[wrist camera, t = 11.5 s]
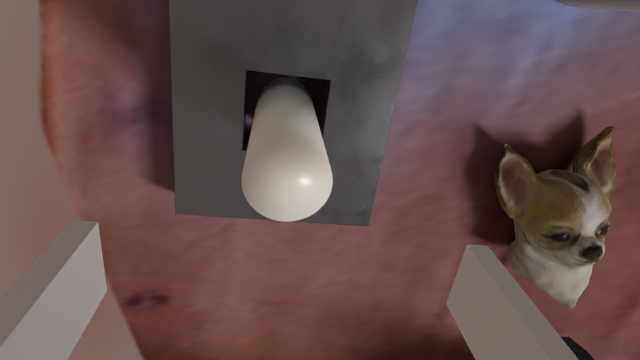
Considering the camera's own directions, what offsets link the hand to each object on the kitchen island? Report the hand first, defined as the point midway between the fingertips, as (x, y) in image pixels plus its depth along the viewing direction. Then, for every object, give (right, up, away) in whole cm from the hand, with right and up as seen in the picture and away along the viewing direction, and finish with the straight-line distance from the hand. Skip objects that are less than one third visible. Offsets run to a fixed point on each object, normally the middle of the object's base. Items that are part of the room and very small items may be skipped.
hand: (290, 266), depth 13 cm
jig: (-2, +9, +18) cm, 20 cm away
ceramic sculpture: (+22, +1, +25) cm, 33 cm away
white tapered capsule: (-2, +9, +18) cm, 20 cm away
